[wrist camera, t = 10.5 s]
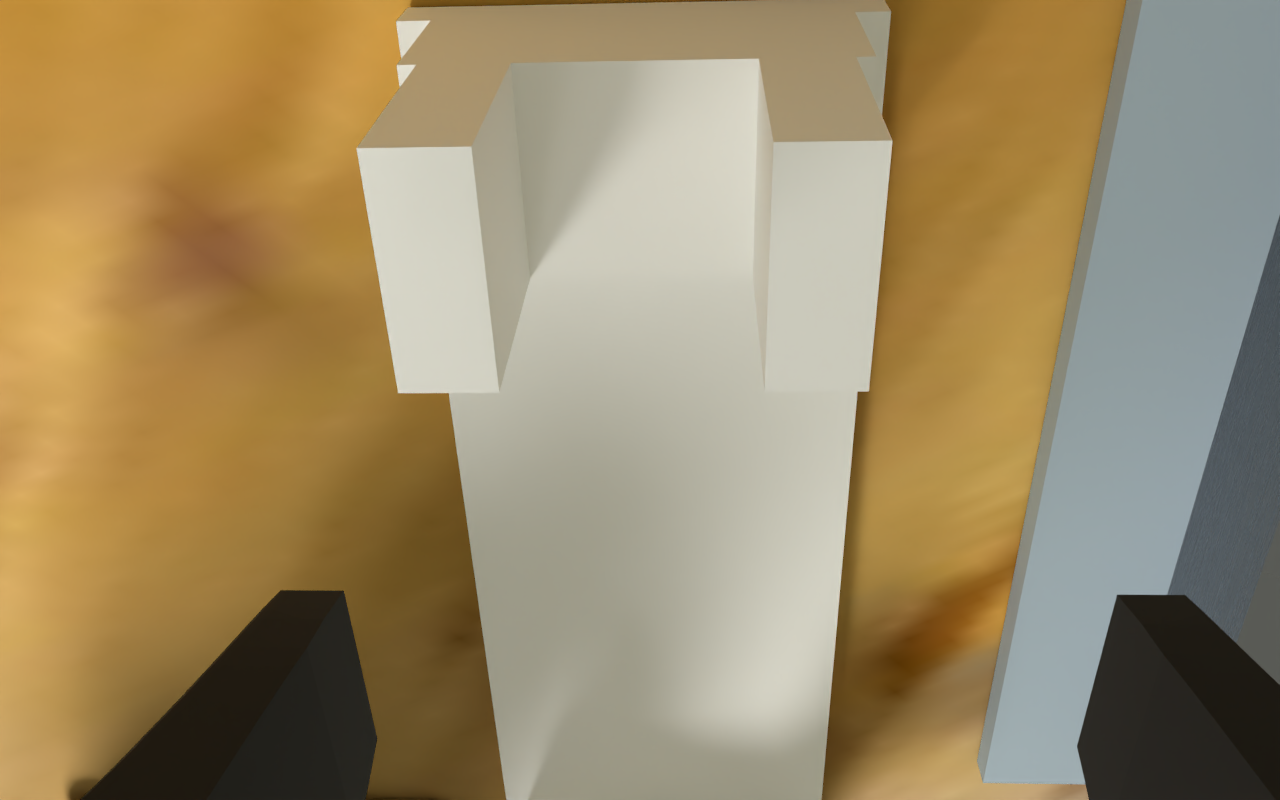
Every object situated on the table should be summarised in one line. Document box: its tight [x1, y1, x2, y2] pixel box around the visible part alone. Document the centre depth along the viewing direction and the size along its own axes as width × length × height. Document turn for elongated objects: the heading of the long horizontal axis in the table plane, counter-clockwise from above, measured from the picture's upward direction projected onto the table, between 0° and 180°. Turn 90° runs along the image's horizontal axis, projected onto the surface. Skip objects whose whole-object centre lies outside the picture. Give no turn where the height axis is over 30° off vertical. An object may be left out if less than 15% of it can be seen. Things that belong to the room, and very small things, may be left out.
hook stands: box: [357, 0, 893, 800], centre depth 19 cm, size 7×20×6 cm, turn 2°
